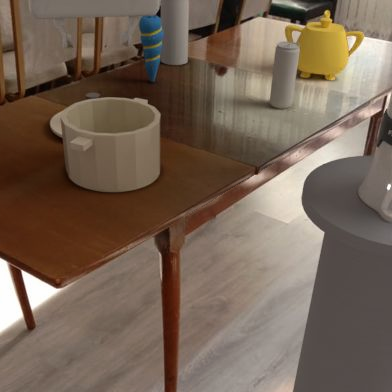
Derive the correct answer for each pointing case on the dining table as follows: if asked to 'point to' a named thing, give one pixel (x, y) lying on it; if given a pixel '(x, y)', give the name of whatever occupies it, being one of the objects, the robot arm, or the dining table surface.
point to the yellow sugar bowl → (323, 47)
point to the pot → (112, 143)
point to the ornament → (151, 43)
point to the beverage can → (284, 74)
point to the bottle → (174, 31)
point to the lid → (56, 121)
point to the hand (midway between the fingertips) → (97, 46)
